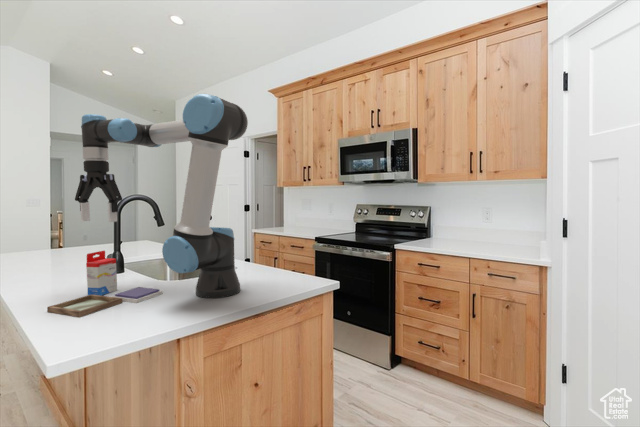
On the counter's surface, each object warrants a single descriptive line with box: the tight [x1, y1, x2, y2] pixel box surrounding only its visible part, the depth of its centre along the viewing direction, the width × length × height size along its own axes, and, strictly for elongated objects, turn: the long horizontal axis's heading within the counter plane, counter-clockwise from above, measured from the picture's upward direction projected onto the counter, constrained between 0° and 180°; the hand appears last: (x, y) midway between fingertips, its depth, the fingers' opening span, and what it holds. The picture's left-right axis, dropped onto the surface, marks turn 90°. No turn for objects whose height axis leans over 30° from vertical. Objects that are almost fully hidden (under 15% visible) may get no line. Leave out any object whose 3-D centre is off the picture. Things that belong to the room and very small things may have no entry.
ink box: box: [86, 250, 118, 296], centre depth 128 cm, size 8×5×15 cm, turn 168°
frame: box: [46, 294, 123, 318], centre depth 112 cm, size 14×14×2 cm
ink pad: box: [111, 286, 164, 304], centre depth 123 cm, size 11×11×2 cm
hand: (99, 221), depth 127 cm, fingers open, 13 cm apart
